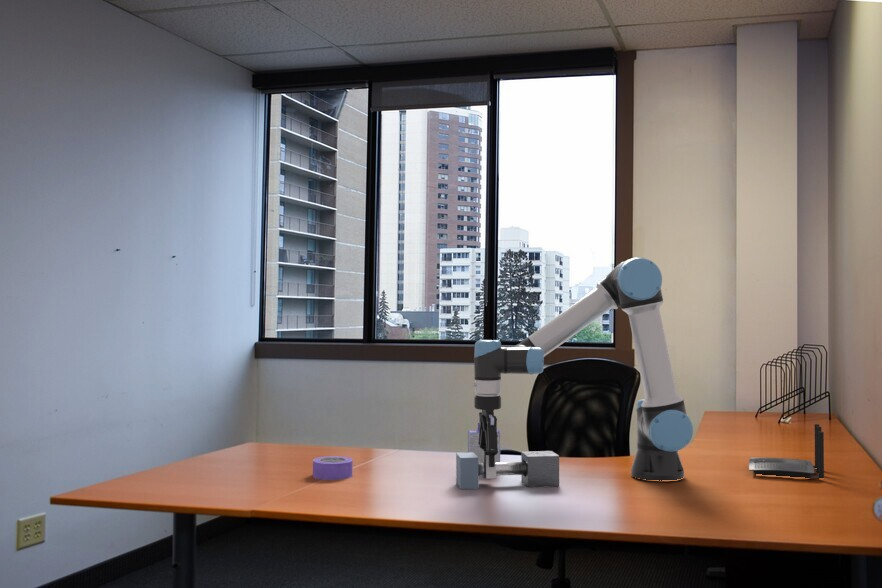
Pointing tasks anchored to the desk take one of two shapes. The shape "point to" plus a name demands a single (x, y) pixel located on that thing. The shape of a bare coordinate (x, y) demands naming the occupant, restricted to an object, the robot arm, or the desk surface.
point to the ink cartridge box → (474, 446)
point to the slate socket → (467, 470)
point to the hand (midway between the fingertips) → (487, 474)
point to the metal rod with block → (501, 467)
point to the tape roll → (332, 468)
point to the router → (792, 462)
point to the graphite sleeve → (540, 468)
